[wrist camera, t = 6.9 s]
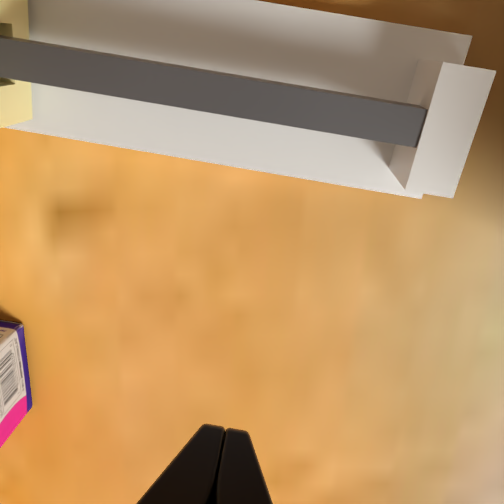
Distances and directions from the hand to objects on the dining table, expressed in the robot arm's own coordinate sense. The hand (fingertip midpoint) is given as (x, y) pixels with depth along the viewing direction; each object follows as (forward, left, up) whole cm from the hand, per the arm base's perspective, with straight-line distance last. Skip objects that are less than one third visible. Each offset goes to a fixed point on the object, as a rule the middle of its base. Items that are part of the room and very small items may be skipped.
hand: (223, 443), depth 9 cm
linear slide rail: (+5, -5, -13) cm, 15 cm away
